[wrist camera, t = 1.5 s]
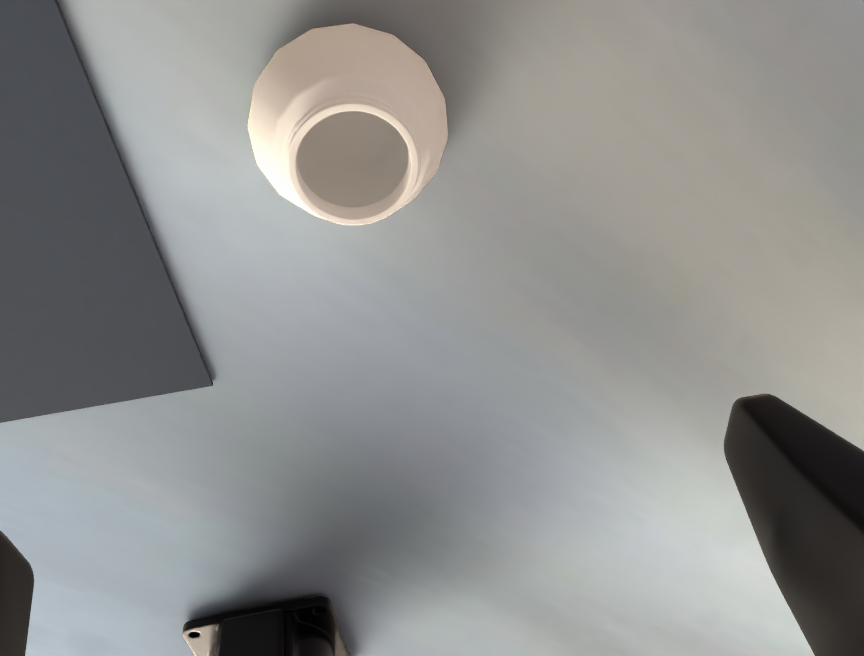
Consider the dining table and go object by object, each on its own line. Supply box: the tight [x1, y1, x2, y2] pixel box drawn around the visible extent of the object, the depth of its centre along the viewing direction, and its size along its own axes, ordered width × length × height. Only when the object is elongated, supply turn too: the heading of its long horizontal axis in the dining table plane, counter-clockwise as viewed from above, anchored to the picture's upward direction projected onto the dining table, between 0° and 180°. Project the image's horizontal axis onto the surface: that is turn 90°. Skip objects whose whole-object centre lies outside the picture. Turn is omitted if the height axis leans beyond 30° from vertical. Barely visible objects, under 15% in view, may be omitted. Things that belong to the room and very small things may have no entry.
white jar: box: [247, 23, 448, 225], centre depth 17 cm, size 5×3×5 cm
